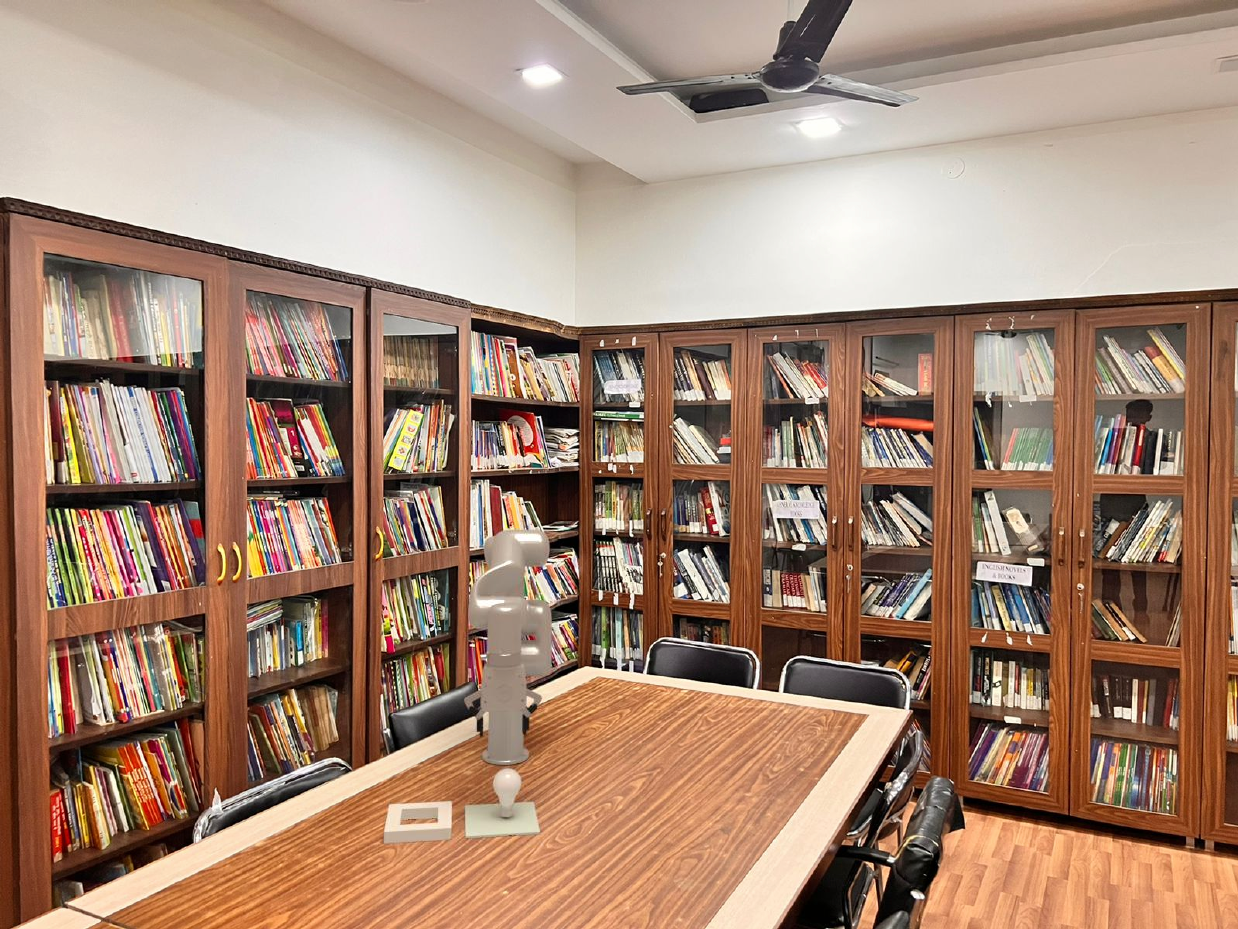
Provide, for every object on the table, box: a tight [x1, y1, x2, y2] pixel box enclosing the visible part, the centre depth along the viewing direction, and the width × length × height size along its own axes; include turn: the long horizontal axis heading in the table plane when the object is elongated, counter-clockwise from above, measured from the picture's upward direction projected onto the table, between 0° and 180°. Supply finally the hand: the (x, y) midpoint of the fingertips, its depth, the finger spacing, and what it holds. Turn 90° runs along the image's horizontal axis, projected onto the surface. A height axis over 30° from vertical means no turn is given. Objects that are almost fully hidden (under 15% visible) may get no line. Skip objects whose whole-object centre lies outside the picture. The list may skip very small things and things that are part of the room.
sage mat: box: [464, 801, 541, 839], centre depth 195 cm, size 16×16×1 cm
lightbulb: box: [492, 767, 522, 818], centre depth 195 cm, size 6×6×11 cm
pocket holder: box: [383, 800, 453, 845], centre depth 191 cm, size 14×14×2 cm
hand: (502, 734), depth 195 cm, fingers open, 9 cm apart
